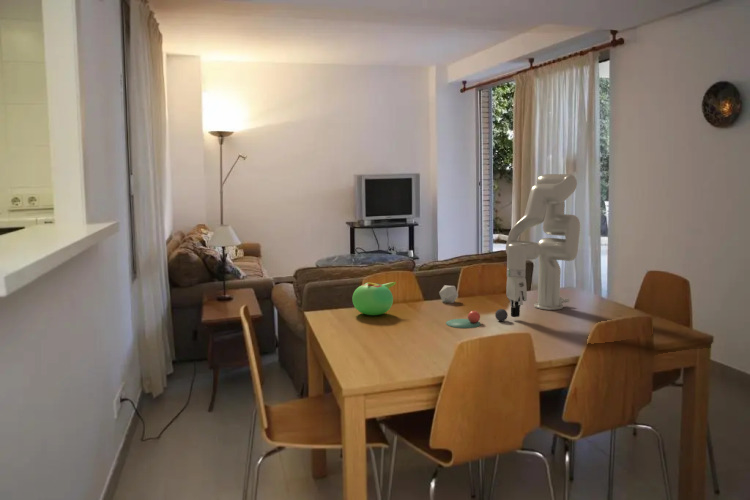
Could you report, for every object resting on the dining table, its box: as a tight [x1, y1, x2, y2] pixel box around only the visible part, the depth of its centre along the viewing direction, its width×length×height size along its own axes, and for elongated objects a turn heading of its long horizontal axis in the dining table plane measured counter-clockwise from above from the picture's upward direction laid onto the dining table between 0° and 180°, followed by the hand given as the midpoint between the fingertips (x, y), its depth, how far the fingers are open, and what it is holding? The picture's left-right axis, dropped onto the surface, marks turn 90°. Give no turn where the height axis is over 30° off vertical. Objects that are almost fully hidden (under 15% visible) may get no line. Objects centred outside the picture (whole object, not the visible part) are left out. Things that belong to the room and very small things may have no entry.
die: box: [438, 284, 459, 304], centre depth 271 cm, size 8×9×10 cm
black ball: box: [494, 308, 509, 322], centre depth 235 cm, size 5×5×5 cm
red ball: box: [467, 310, 481, 323], centre depth 233 cm, size 5×5×5 cm
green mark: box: [445, 318, 482, 329], centre depth 232 cm, size 14×14×1 cm
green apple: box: [351, 281, 397, 316], centre depth 248 cm, size 18×17×15 cm
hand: (515, 316), depth 237 cm, fingers closed
